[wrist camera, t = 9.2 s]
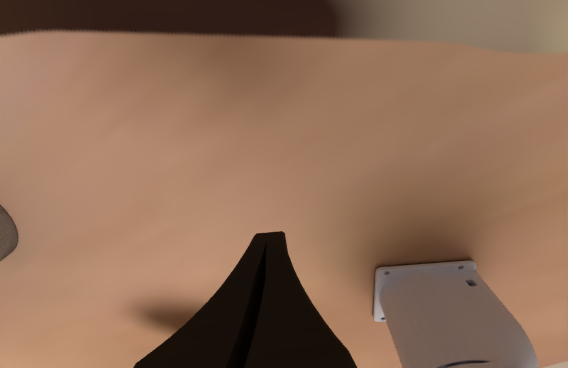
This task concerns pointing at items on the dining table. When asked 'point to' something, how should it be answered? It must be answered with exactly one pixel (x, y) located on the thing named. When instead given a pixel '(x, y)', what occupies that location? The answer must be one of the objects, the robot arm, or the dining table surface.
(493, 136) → the dining table surface
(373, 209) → the dining table surface
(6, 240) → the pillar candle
